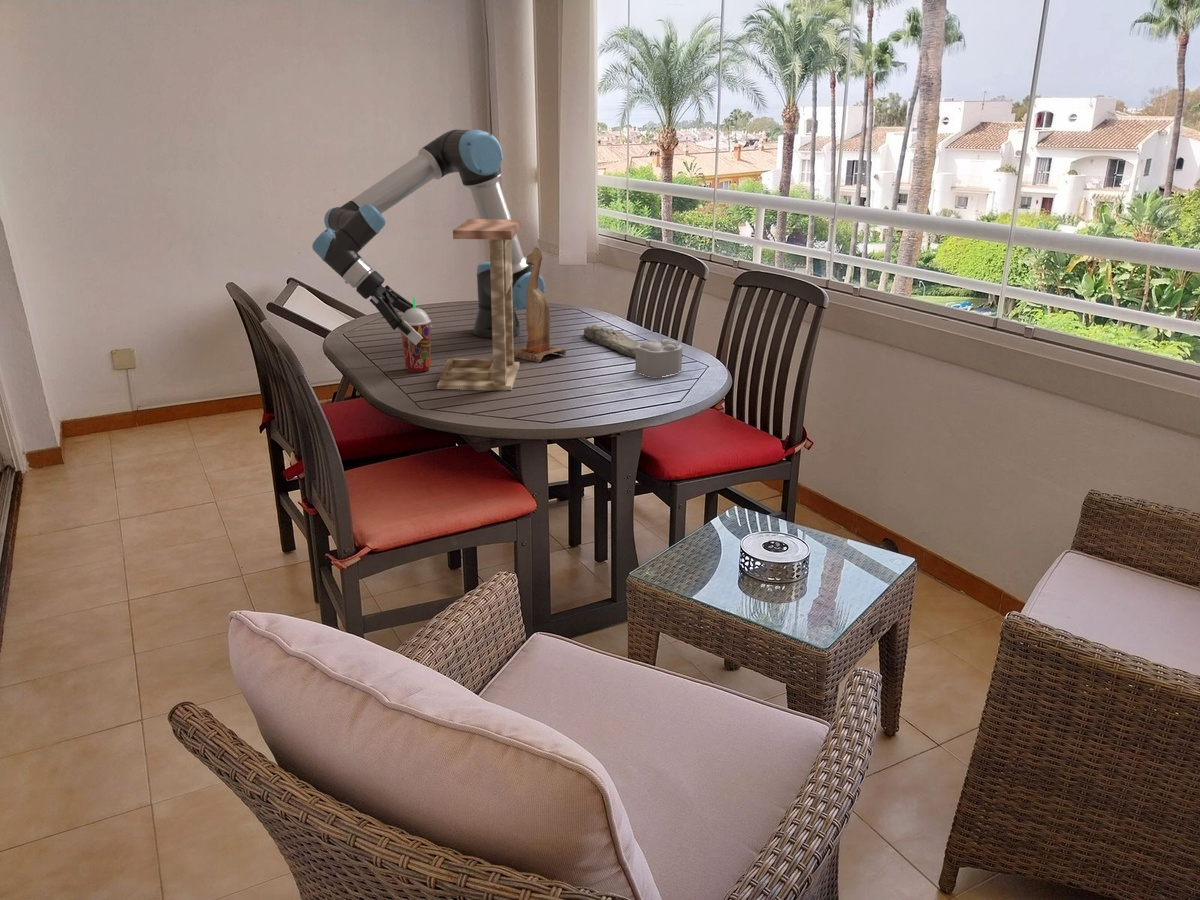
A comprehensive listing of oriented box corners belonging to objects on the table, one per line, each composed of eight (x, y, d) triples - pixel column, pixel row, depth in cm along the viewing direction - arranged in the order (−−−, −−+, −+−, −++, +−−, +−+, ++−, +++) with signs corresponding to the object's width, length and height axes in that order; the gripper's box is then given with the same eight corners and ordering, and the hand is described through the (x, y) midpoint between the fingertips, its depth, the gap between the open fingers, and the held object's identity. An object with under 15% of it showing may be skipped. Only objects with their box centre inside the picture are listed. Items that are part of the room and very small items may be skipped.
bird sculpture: (536, 351, 262) (531, 243, 251) (567, 356, 256) (563, 245, 245) (512, 358, 254) (506, 247, 243) (543, 364, 247) (538, 249, 236)
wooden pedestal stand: (436, 390, 221) (427, 229, 207) (452, 364, 245) (445, 218, 231) (514, 391, 221) (511, 231, 207) (523, 365, 246) (520, 219, 231)
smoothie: (426, 375, 235) (422, 301, 227) (397, 373, 236) (392, 299, 229) (438, 367, 242) (434, 295, 235) (410, 365, 244) (405, 294, 237)
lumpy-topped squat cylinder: (630, 371, 242) (631, 340, 239) (666, 364, 249) (667, 334, 246) (654, 379, 234) (655, 348, 231) (690, 372, 241) (692, 342, 238)
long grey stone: (629, 366, 252) (658, 363, 257) (631, 348, 250) (660, 346, 255) (574, 334, 280) (601, 333, 285) (576, 318, 278) (603, 317, 283)
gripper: (367, 281, 243) (423, 334, 248) (342, 298, 220) (405, 356, 225) (384, 262, 241) (441, 316, 246) (361, 277, 218) (424, 336, 223)
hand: (424, 335), depth 236 cm, fingers open, 13 cm apart
